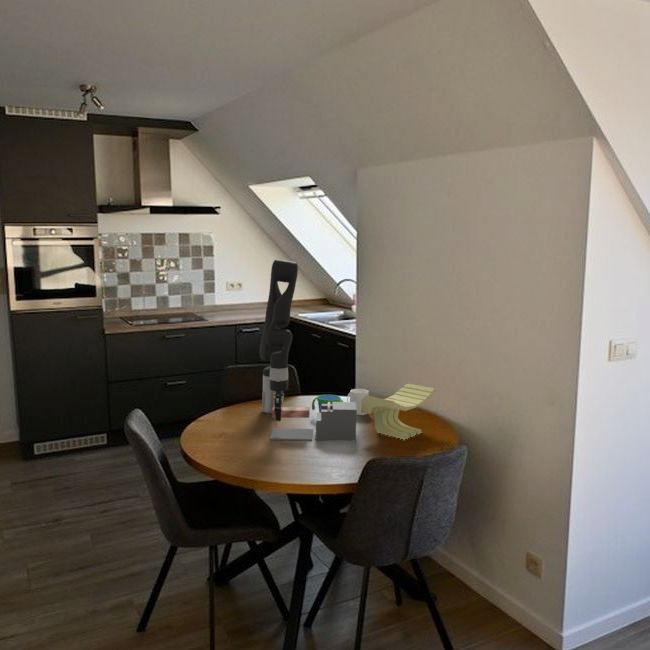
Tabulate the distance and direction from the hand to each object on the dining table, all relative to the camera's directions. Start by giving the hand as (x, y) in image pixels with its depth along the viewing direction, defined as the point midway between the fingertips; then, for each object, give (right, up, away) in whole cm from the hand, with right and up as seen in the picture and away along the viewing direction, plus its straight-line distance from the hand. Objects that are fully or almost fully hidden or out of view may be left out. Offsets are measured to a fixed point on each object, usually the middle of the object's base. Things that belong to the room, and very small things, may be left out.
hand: (278, 418), depth 262 cm
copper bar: (+5, +1, 0) cm, 5 cm away
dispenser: (+23, -7, +1) cm, 24 cm away
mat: (+5, -7, +1) cm, 9 cm away
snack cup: (+21, -4, +25) cm, 32 cm away
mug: (+34, -3, +37) cm, 50 cm away
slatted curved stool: (+49, -7, +7) cm, 50 cm away
